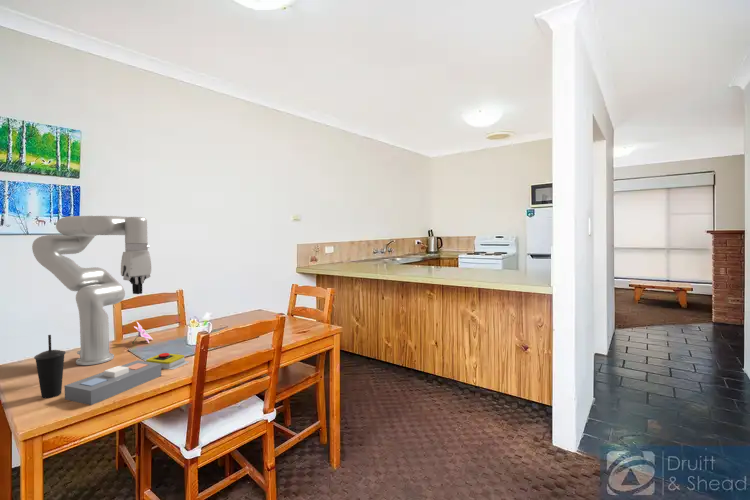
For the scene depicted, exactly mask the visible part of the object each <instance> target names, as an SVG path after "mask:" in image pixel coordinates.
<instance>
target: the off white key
mask: <svg viewBox="0 0 750 500" xmlns="http://www.w3.org/2000/svg"><path fill="white" fill-rule="evenodd" d="M103 372H104V376H106V377H112V378H116V377H118V376H121V375H124V374H126V373H129V367H123V366H122V365H117V366H114V367H111V368H108V369H105V370H103Z"/></svg>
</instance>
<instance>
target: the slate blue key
mask: <svg viewBox="0 0 750 500" xmlns="http://www.w3.org/2000/svg"><path fill="white" fill-rule="evenodd" d="M105 381H107V380H106V379H100V378H95V379H92V380H89V381H86V382H83V383H81V385H85V386H90V387H92V386H94V385H97V384H100V383H102V382H105Z"/></svg>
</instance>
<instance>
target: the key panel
mask: <svg viewBox="0 0 750 500" xmlns="http://www.w3.org/2000/svg"><path fill="white" fill-rule="evenodd" d="M137 363H141V364H147V365H148V366H145V367H142V368H140V369H137V370H131V369H129V373H126V374H124V375H121V376H118V377H116V378H112V377H106V376H104V371H103V372H99V373H97V374H94V375H91V376H88V377H85V378H83V379H80V380H77V381H74V382H71V383H69V384H65V385H64V387H63V388H64V400H67V401H70V402H75V403H79V404H85V405H88V404H89V406H93V405H94V404H95V405H96V404H97V403H100V402H102V401H105V400H107V399H109V398H112V397H114V396H117V395H119V394H121V393H124V392H126V391H128V390H131V389H134V388H135V387H138V386H141V385H143V384H145V383H147V382H150V381H152V380H155V379H157V378H159V377H161V376H162V369H161V364H158V363H152V362H146V360H145V361H144V360H138V359H136V360H134V361H131V362H129V363H126V364H122V365H121V366H123V367H128V366H131V365H134V364H137ZM95 378H100V379H106V380H107V381H105V382H102V383H100V384H97V385H94V386H92V387H90V386H85V385H81V383H83V382H86V381H89V380H92V379H95Z"/></svg>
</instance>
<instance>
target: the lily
mask: <svg viewBox="0 0 750 500" xmlns="http://www.w3.org/2000/svg"><path fill="white" fill-rule="evenodd" d="M136 323H137V326H138V327H137V326H133V327H134V329H136V330H137V331H138V333H137V336H136V337H135V338H134V339H133V341H132V344H134V343H135V341H136V340H137V338H143V339H145V341H146V342H147V343H148V344H150V341H149V339H150V340H154V339H153V337H152V336H151V335H150V334H149V333H147V331H146V330H145V329H144V328H143V326H142V325H141V324H140V323H139V322H138V321H136Z"/></svg>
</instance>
